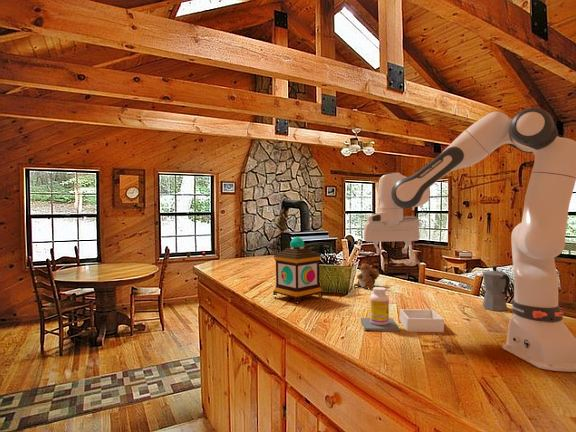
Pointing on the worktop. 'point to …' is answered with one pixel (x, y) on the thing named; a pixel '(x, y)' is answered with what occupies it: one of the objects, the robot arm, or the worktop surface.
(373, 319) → the supplement bottle
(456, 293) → the worktop surface
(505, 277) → the coffeepot
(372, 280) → the stuffed squirrel
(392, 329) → the mat
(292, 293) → the decorative lantern
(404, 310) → the bin
